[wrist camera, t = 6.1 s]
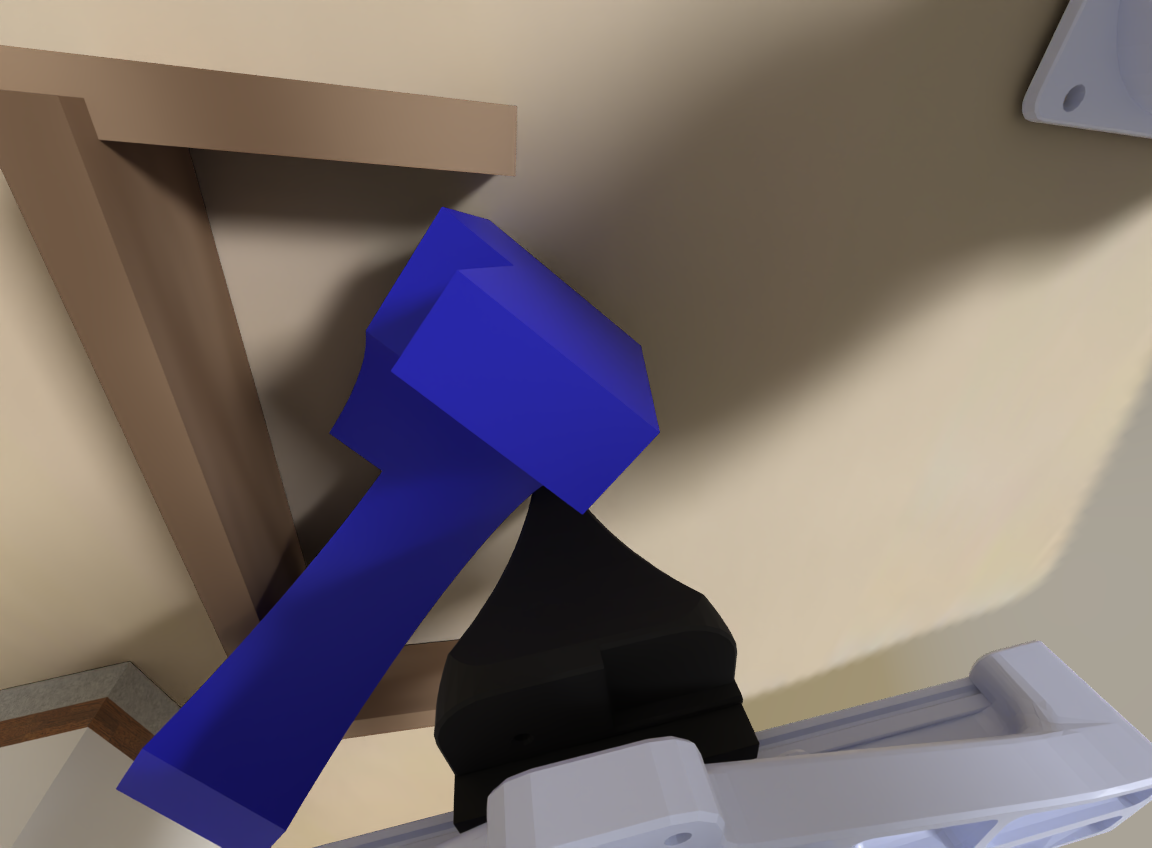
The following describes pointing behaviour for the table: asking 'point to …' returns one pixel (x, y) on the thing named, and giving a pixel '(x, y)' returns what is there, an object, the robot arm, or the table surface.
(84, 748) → the display case
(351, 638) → the cable clip
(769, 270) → the table surface
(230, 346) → the frame
